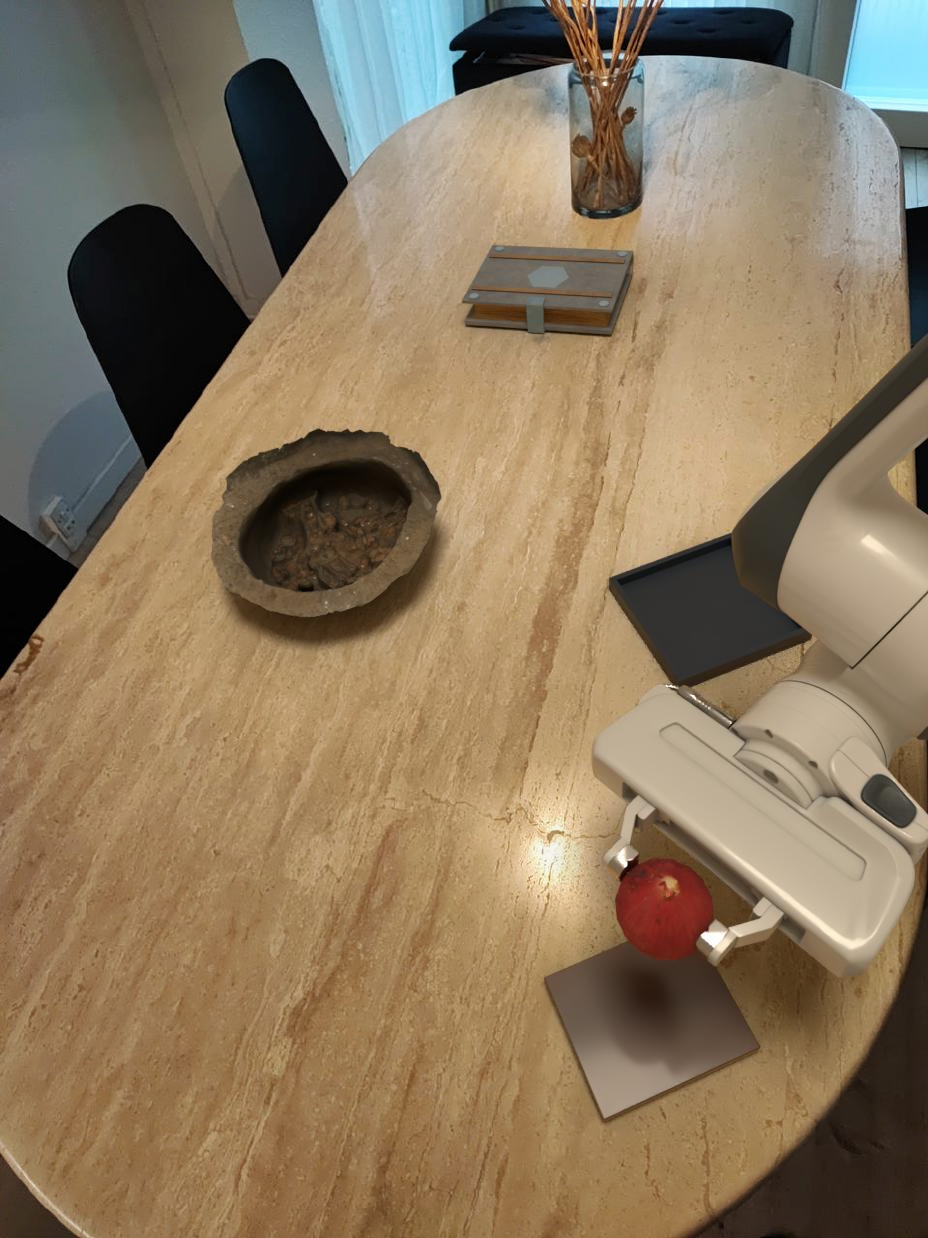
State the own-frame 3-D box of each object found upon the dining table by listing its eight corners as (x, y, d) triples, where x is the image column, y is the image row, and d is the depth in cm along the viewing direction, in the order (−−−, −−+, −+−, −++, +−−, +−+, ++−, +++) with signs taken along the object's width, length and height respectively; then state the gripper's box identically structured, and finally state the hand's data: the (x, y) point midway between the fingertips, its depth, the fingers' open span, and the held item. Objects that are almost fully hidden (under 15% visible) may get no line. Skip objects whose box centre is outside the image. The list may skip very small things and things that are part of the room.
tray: (811, 639, 81) (814, 628, 80) (677, 692, 79) (679, 681, 78) (730, 543, 90) (732, 531, 89) (608, 588, 88) (608, 577, 87)
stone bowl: (384, 453, 106) (373, 394, 98) (487, 588, 92) (482, 531, 85) (196, 536, 100) (169, 479, 92) (277, 692, 86) (252, 641, 79)
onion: (595, 925, 55) (595, 877, 49) (656, 867, 57) (663, 814, 51) (664, 996, 52) (673, 954, 46) (726, 932, 54) (742, 883, 48)
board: (758, 1051, 60) (761, 1047, 59) (603, 1123, 58) (603, 1120, 57) (686, 920, 66) (687, 915, 65) (544, 982, 64) (543, 977, 64)
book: (633, 274, 125) (634, 241, 121) (610, 338, 116) (611, 305, 112) (496, 267, 131) (493, 236, 127) (464, 328, 122) (460, 296, 118)
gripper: (671, 646, 58) (528, 777, 53) (963, 844, 48) (818, 1030, 43) (665, 697, 63) (534, 821, 58) (929, 887, 52) (795, 1059, 48)
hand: (656, 911), depth 50 cm, fingers closed on onion, 6 cm apart
